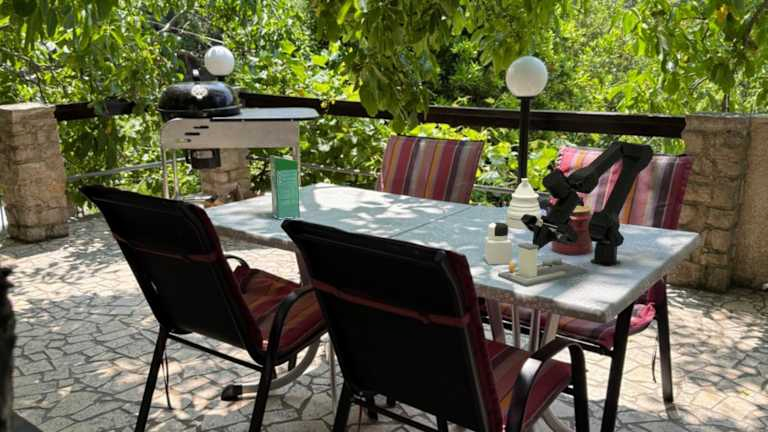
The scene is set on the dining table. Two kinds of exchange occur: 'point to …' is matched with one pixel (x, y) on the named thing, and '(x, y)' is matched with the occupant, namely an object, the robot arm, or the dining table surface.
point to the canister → (580, 224)
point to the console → (544, 272)
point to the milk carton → (284, 186)
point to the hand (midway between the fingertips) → (532, 251)
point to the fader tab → (527, 260)
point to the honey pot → (523, 205)
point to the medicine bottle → (498, 244)
